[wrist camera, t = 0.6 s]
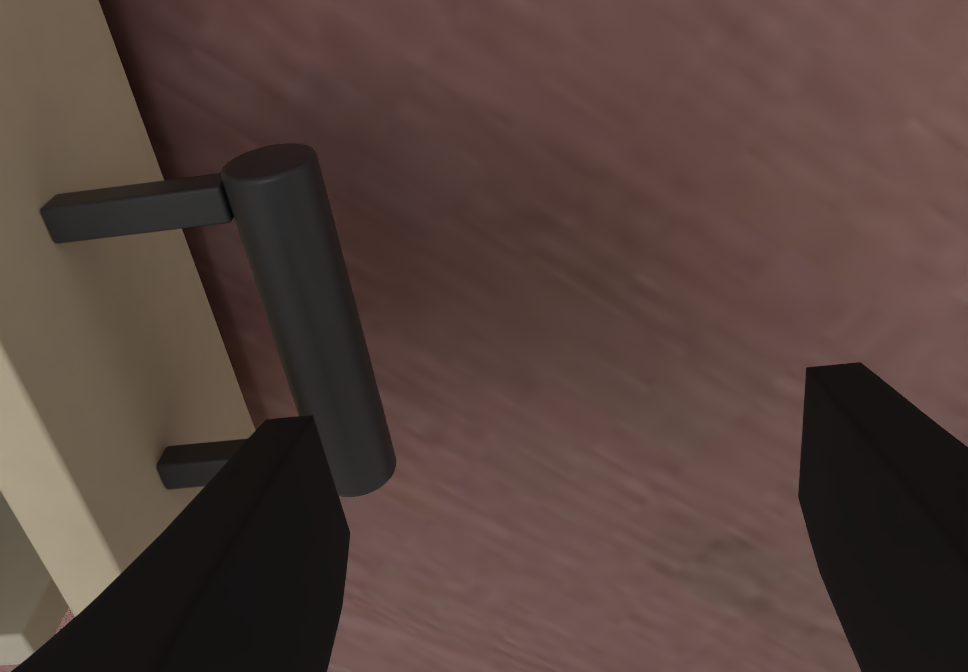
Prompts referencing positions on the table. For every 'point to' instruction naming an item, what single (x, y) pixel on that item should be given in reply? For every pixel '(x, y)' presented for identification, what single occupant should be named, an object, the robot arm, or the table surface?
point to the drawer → (140, 322)
